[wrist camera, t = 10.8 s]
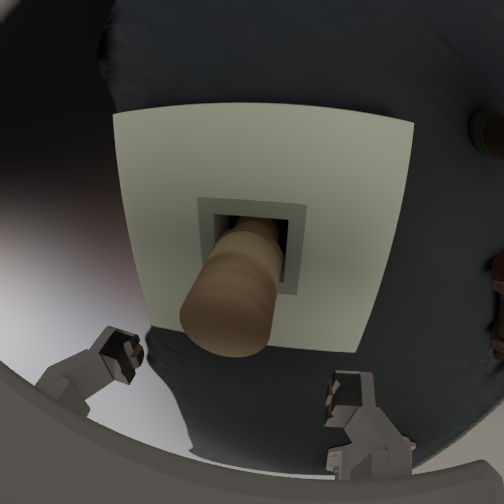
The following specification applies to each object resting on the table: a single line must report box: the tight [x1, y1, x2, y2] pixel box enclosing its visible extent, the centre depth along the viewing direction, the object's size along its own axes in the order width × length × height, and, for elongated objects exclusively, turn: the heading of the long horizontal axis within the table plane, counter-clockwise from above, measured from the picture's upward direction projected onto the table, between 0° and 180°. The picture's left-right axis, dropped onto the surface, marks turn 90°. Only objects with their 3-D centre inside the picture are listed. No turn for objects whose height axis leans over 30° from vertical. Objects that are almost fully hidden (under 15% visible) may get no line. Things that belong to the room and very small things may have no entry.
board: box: [113, 102, 414, 352], centre depth 20 cm, size 18×18×4 cm
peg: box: [179, 216, 283, 357], centre depth 17 cm, size 4×4×11 cm
